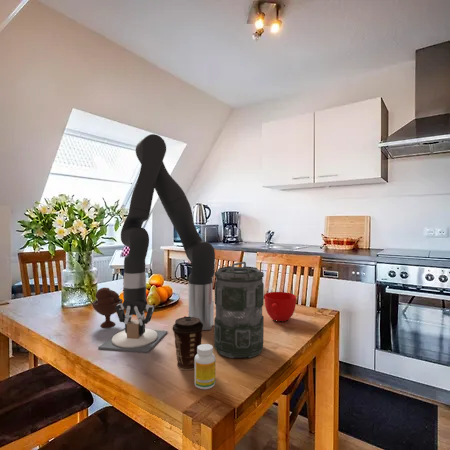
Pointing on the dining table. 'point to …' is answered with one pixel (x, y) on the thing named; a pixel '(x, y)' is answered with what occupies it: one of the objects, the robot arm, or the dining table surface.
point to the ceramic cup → (280, 305)
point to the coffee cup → (187, 340)
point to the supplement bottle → (204, 367)
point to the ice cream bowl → (106, 305)
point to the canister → (239, 311)
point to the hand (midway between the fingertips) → (135, 334)
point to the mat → (143, 349)
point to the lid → (134, 336)
